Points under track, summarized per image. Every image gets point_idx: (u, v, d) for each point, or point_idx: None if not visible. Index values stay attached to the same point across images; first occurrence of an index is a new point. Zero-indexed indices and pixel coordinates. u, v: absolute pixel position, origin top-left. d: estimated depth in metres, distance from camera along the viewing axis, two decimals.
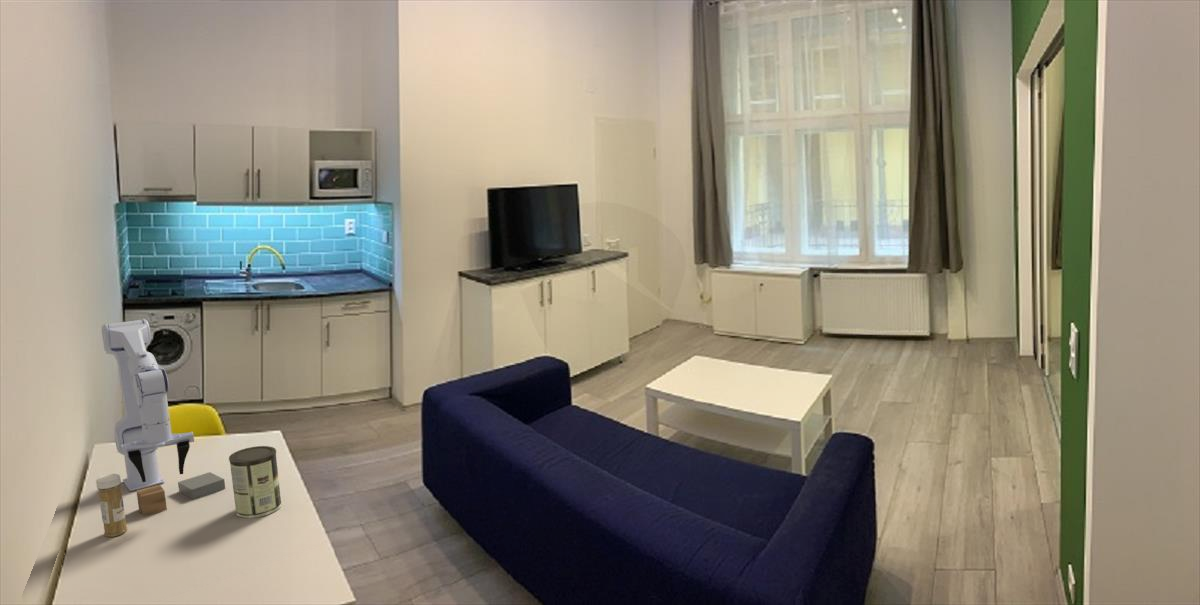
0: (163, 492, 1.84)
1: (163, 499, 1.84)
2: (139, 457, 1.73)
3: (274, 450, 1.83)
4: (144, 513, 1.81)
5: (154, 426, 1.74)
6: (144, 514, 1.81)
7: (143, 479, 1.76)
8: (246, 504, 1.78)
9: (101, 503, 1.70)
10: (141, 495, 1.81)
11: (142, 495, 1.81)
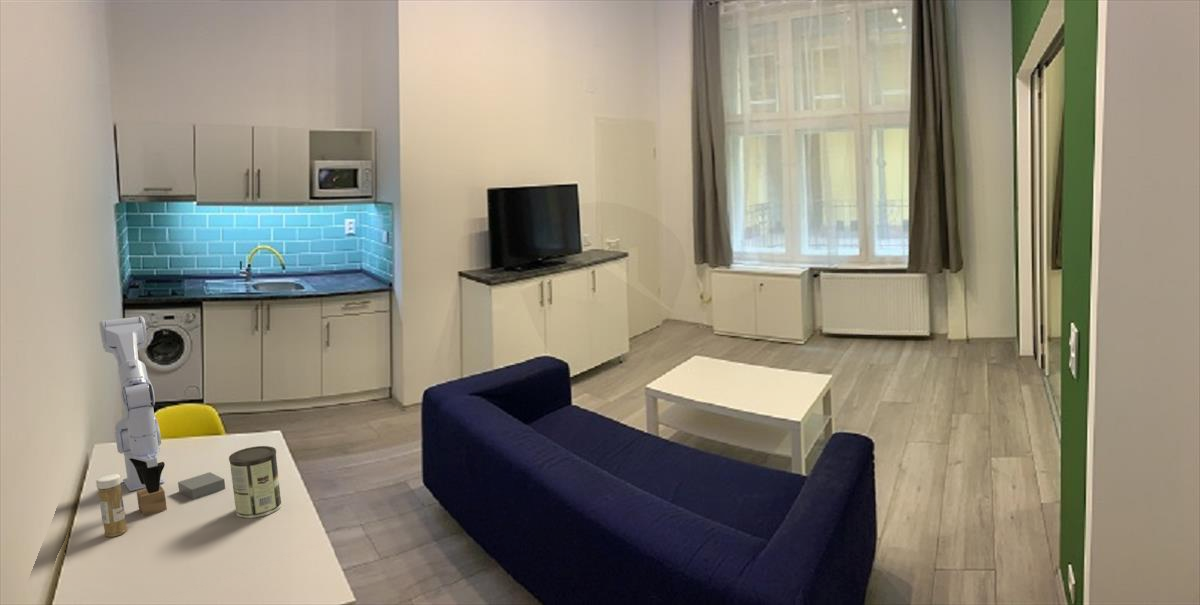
0: (163, 492, 1.84)
1: (163, 499, 1.84)
2: (130, 460, 1.84)
3: (274, 450, 1.83)
4: (144, 513, 1.81)
5: (128, 437, 1.80)
6: (144, 514, 1.81)
7: (140, 481, 1.86)
8: (246, 504, 1.78)
9: (101, 503, 1.70)
10: (141, 495, 1.81)
11: (142, 495, 1.81)
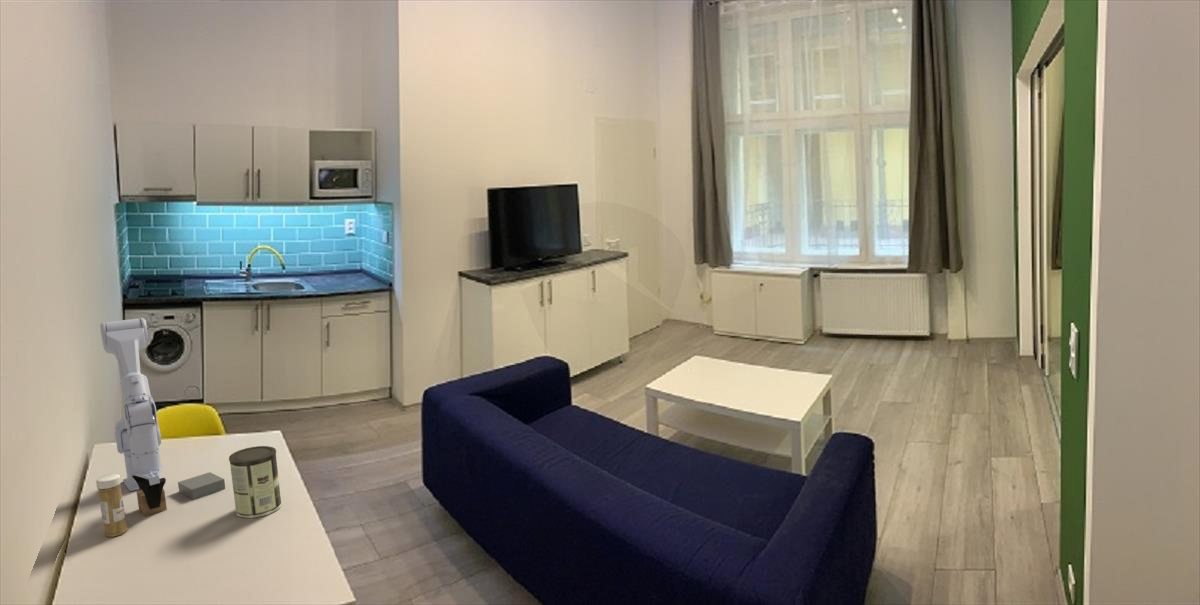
0: (163, 492, 1.84)
1: (163, 499, 1.84)
2: (133, 477, 1.84)
3: (274, 450, 1.83)
4: (144, 513, 1.81)
5: (131, 454, 1.81)
6: (144, 514, 1.81)
7: None
8: (246, 504, 1.78)
9: (101, 503, 1.70)
10: (141, 495, 1.81)
11: (142, 495, 1.81)
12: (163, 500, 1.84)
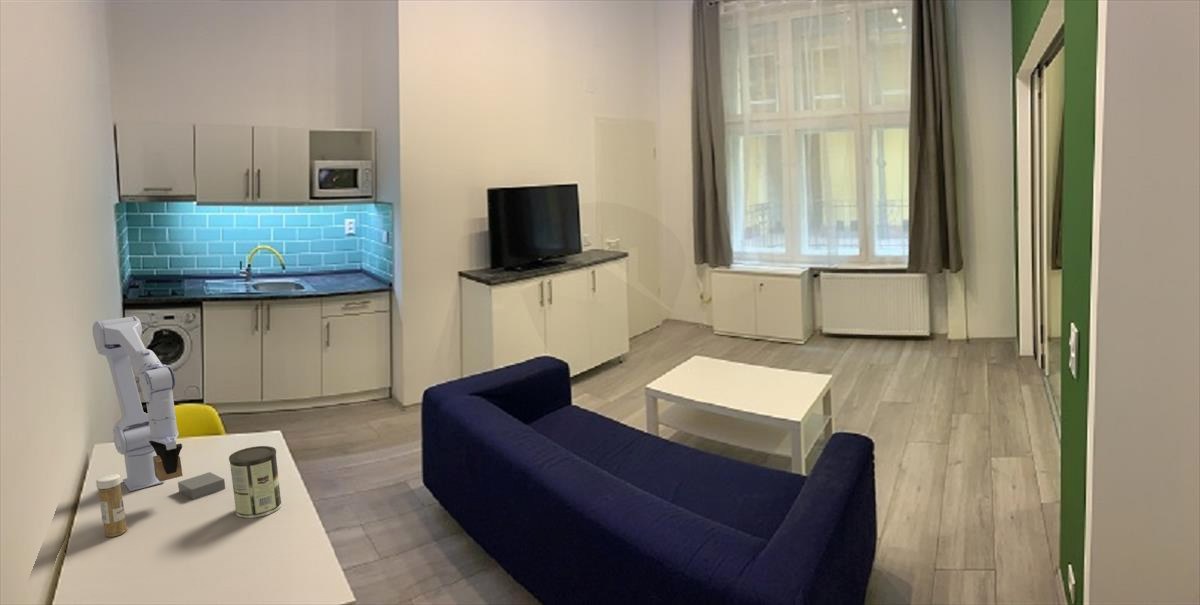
0: (179, 458, 1.86)
1: (179, 465, 1.87)
2: (150, 443, 1.87)
3: (274, 450, 1.83)
4: (160, 478, 1.84)
5: (148, 420, 1.84)
6: (160, 479, 1.84)
7: None
8: (246, 504, 1.78)
9: (101, 503, 1.70)
10: (157, 461, 1.84)
11: (158, 461, 1.84)
12: (179, 466, 1.87)
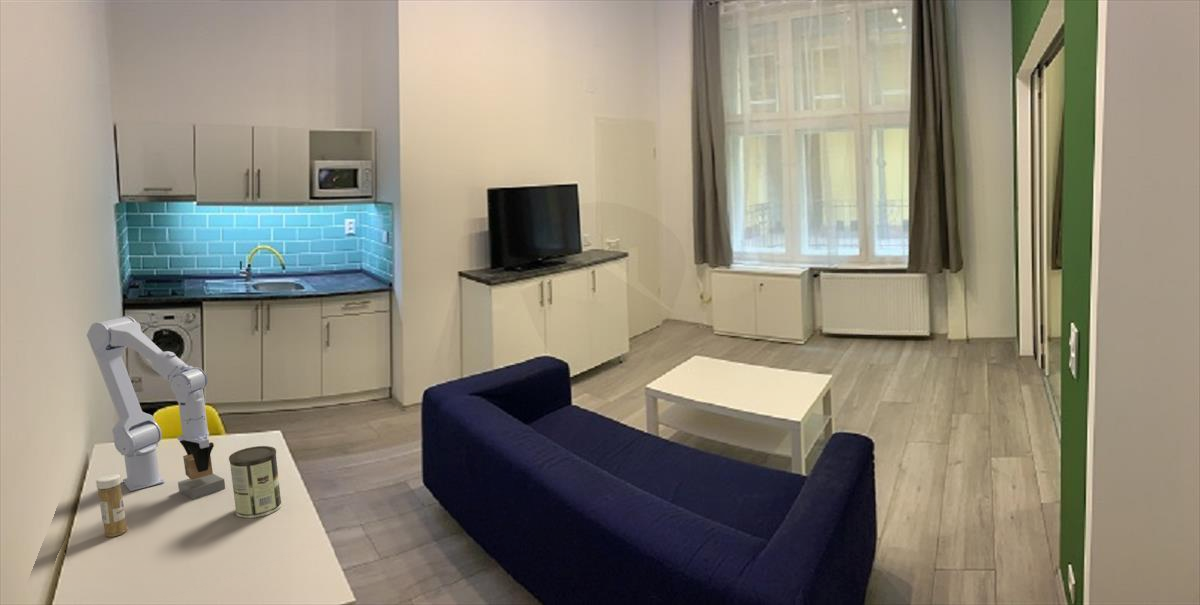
0: None
1: (209, 463, 1.94)
2: (181, 443, 1.94)
3: (274, 450, 1.83)
4: (192, 477, 1.91)
5: None
6: (192, 478, 1.91)
7: None
8: (246, 504, 1.78)
9: (101, 503, 1.70)
10: (189, 460, 1.91)
11: (190, 460, 1.91)
12: (209, 465, 1.94)
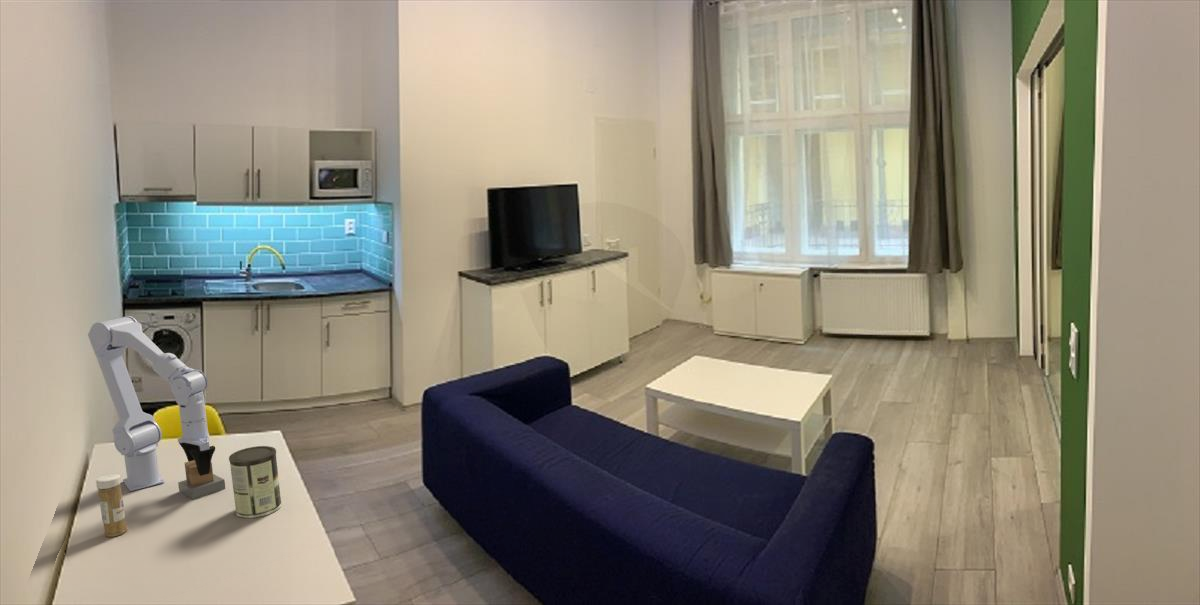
0: None
1: (210, 470, 1.94)
2: None
3: (274, 450, 1.83)
4: (193, 483, 1.92)
5: (181, 422, 1.91)
6: (193, 484, 1.92)
7: None
8: (246, 504, 1.78)
9: (101, 503, 1.70)
10: (190, 466, 1.91)
11: (191, 466, 1.91)
12: (210, 472, 1.94)
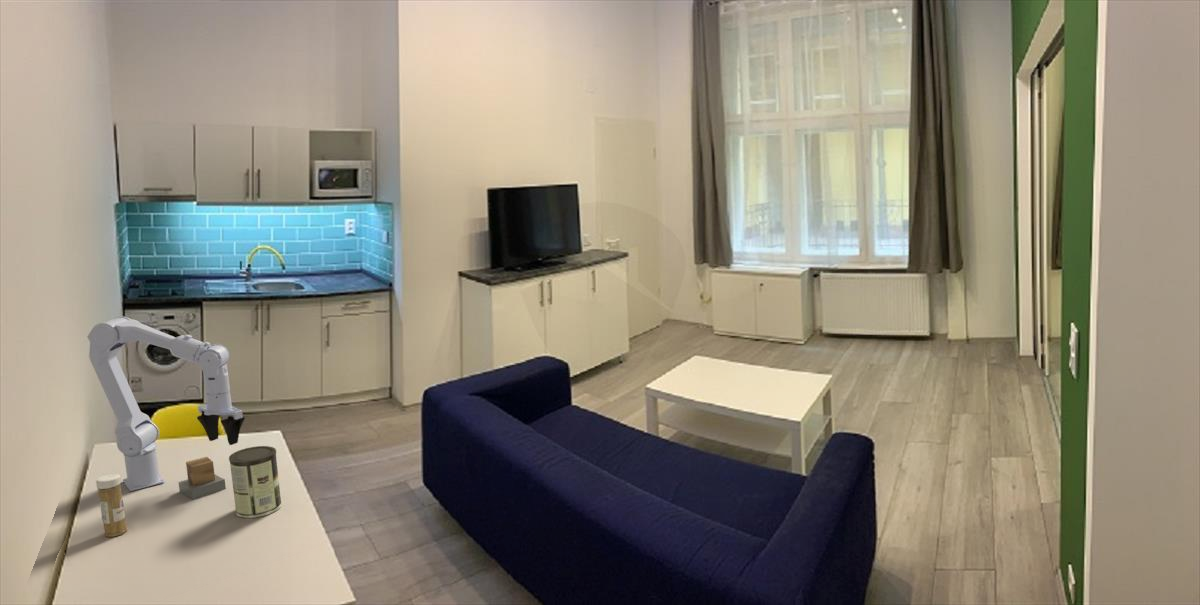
0: (212, 463, 1.94)
1: (212, 470, 1.94)
2: (201, 418, 1.99)
3: (274, 450, 1.83)
4: (194, 483, 1.92)
5: (207, 396, 1.96)
6: (194, 484, 1.92)
7: (209, 438, 2.01)
8: (246, 504, 1.78)
9: (101, 503, 1.70)
10: (192, 466, 1.92)
11: (192, 466, 1.92)
12: (212, 471, 1.94)
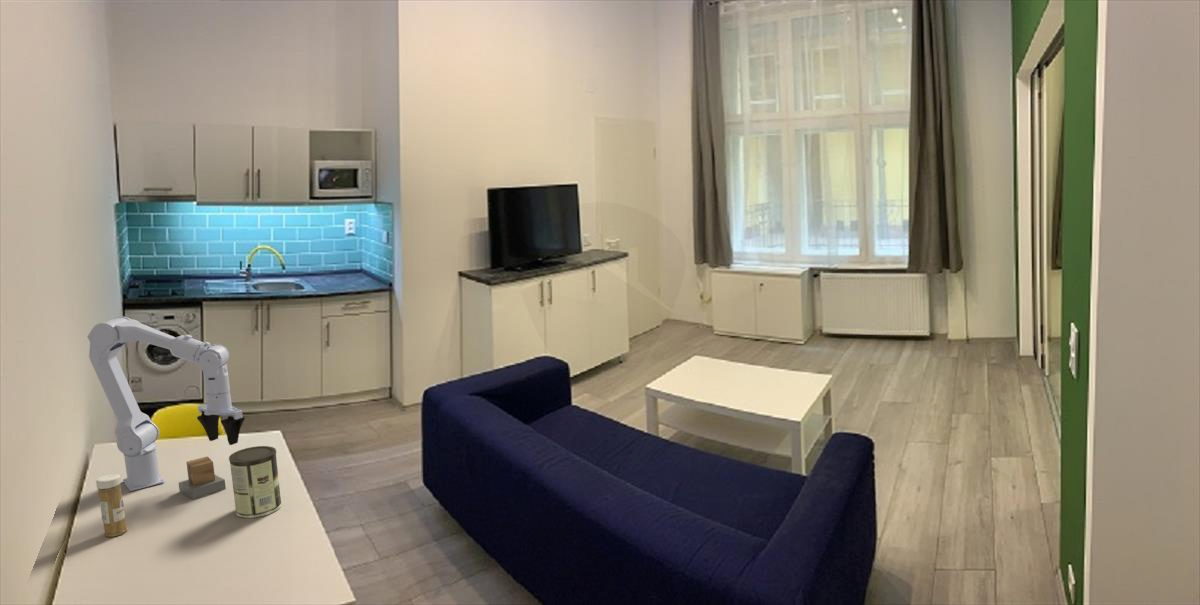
0: (212, 463, 1.94)
1: (212, 470, 1.94)
2: (201, 418, 1.99)
3: (274, 450, 1.83)
4: (194, 483, 1.92)
5: (207, 396, 1.96)
6: (194, 484, 1.92)
7: (209, 438, 2.01)
8: (246, 504, 1.78)
9: (101, 503, 1.70)
10: (191, 466, 1.92)
11: (192, 466, 1.92)
12: (212, 471, 1.94)
